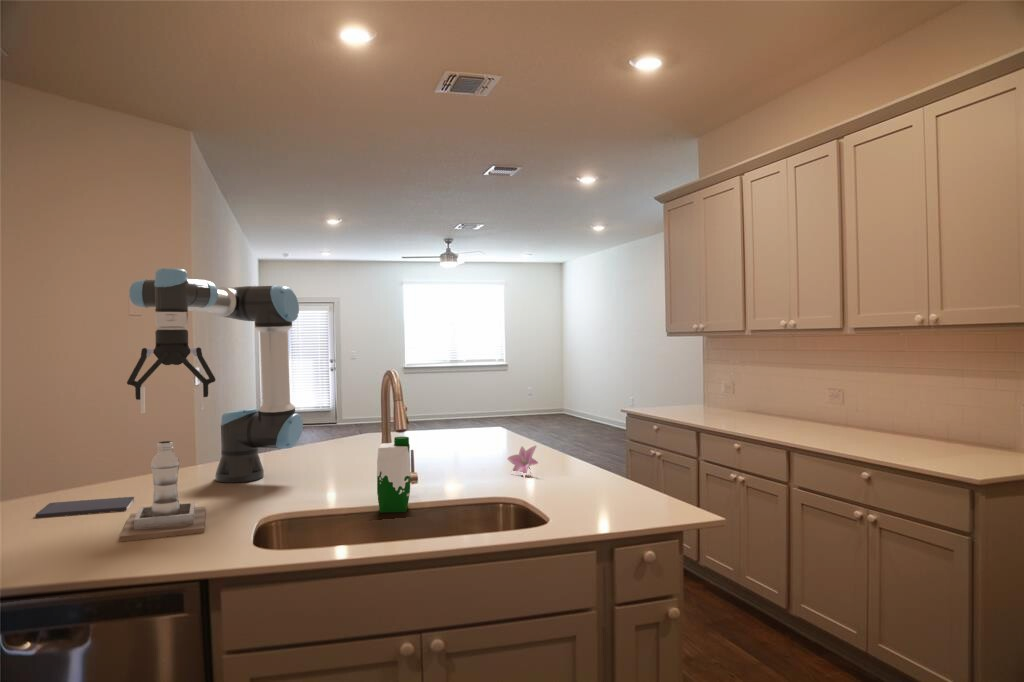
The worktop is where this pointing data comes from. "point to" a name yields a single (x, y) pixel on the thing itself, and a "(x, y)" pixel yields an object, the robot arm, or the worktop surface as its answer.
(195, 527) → the bottle stand
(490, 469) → the worktop surface
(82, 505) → the notebook
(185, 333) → the robot arm
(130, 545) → the worktop surface
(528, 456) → the lily
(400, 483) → the milk carton
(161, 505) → the plastic bottle
